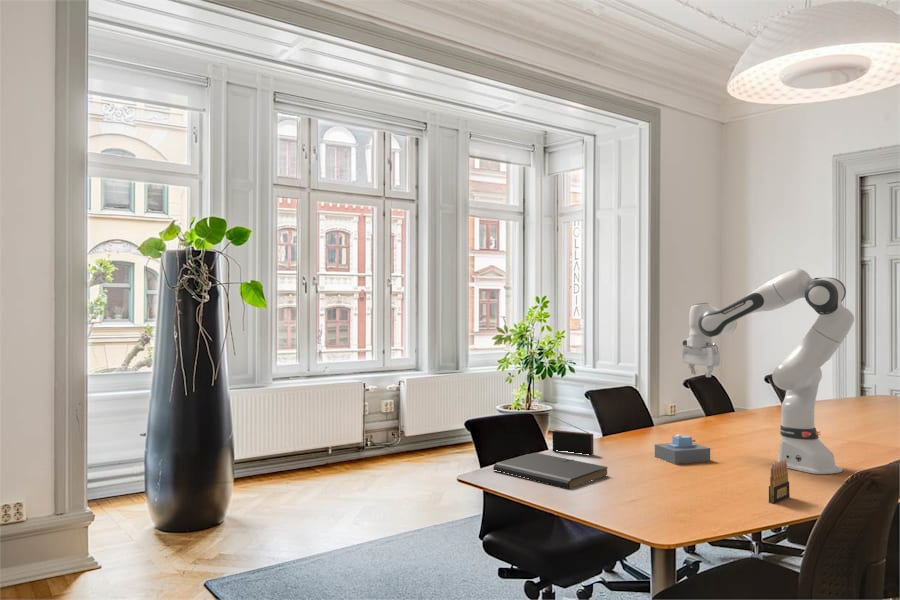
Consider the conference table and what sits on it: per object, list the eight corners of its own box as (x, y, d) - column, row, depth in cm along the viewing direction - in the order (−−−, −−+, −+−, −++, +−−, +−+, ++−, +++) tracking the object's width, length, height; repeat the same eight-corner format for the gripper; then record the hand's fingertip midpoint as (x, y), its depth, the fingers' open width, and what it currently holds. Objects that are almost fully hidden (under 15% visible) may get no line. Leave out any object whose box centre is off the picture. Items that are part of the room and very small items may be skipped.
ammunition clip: (783, 496, 210) (783, 458, 210) (789, 497, 208) (789, 459, 208) (768, 502, 203) (768, 463, 203) (774, 504, 201) (774, 464, 201)
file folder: (608, 465, 236) (567, 479, 219) (608, 477, 236) (567, 492, 219) (535, 451, 259) (493, 462, 243) (535, 461, 259) (493, 474, 243)
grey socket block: (710, 461, 257) (710, 448, 257) (674, 464, 252) (674, 451, 252) (688, 454, 269) (688, 441, 269) (654, 456, 265) (654, 444, 265)
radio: (593, 454, 270) (593, 417, 270) (591, 456, 267) (591, 418, 267) (550, 449, 279) (550, 414, 279) (548, 451, 276) (547, 415, 277)
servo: (700, 457, 261) (700, 434, 261) (674, 460, 257) (674, 436, 257) (693, 455, 265) (693, 432, 265) (668, 457, 261) (667, 434, 261)
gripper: (724, 343, 265) (724, 378, 265) (691, 341, 285) (691, 373, 285) (710, 343, 264) (711, 378, 263) (678, 341, 283) (679, 373, 283)
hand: (700, 375), depth 274 cm, fingers open, 8 cm apart
